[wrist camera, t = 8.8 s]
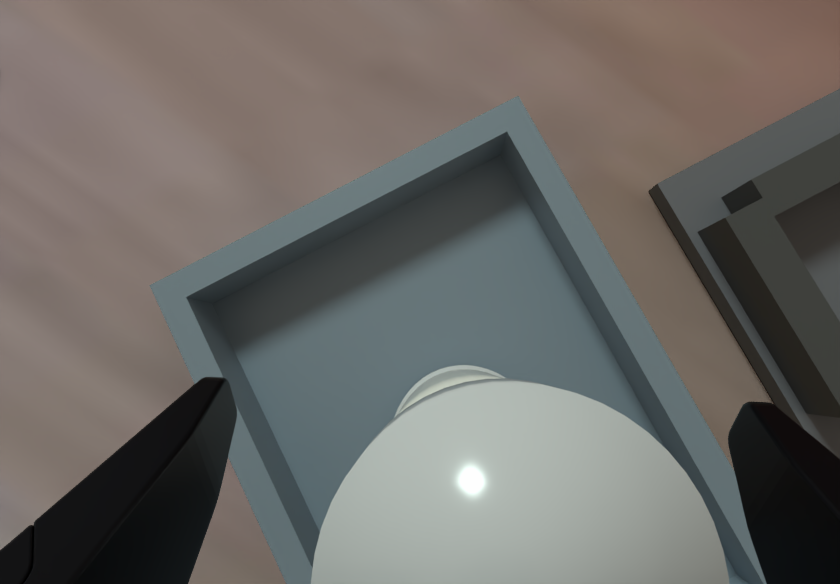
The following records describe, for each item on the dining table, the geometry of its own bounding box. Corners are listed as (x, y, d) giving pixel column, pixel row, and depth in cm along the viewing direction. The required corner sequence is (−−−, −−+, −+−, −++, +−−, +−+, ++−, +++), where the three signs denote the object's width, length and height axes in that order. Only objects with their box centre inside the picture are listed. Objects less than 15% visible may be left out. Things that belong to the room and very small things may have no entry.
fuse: (557, 465, 18) (812, 695, 6) (434, 530, 18) (429, 905, 6) (491, 340, 18) (599, 313, 6) (370, 404, 18) (241, 501, 6)
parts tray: (764, 580, 18) (817, 615, 15) (409, 771, 17) (403, 839, 15) (508, 129, 20) (517, 96, 17) (187, 295, 19) (149, 285, 17)
